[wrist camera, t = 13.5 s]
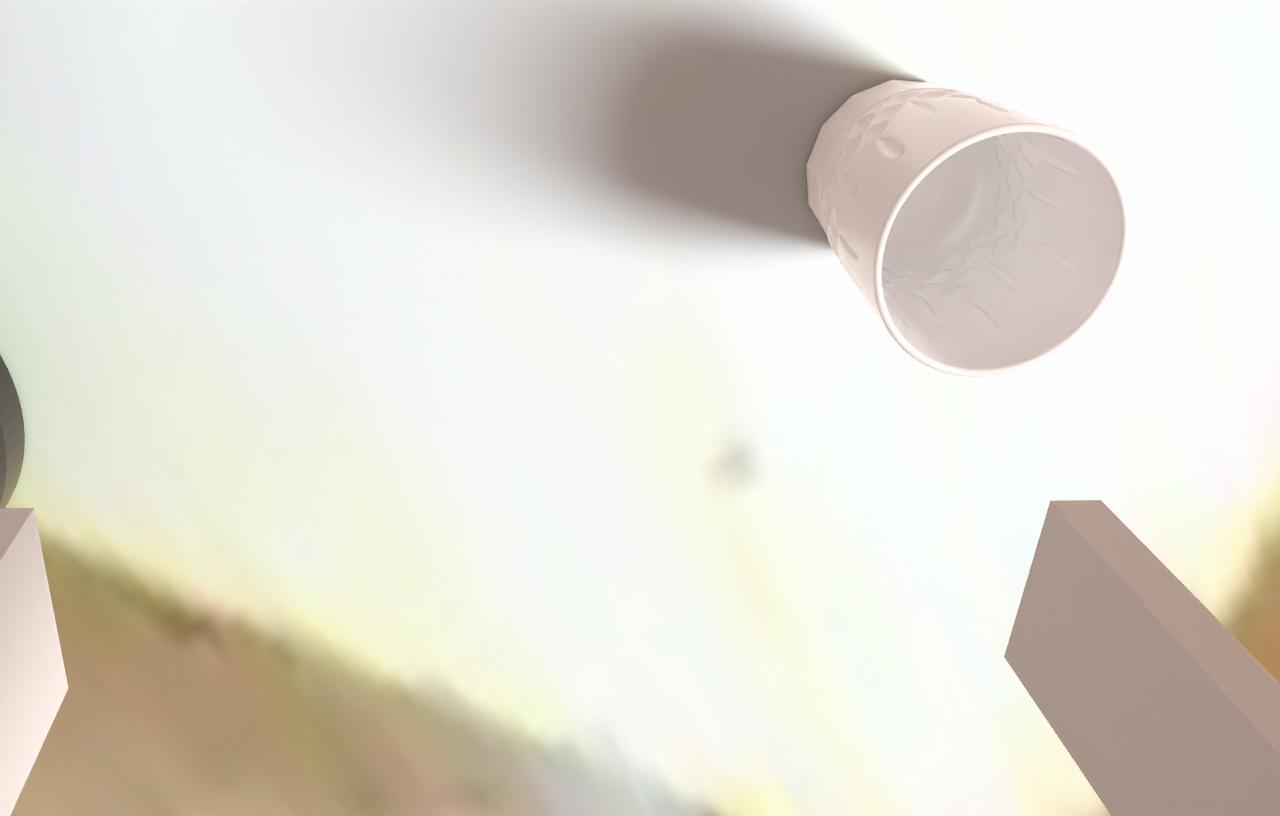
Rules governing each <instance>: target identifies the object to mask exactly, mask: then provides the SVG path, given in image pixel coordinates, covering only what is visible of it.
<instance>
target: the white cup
mask: <svg viewBox="0 0 1280 816" xmlns="http://www.w3.org/2000/svg"><path fill="white" fill-rule="evenodd" d="M806 168H807V186H808V204H809V206H810V208H811V210H812V211H813V213H814V215H815V216H816V218H817V220H818V222H819V223H820V225H821V227H822V228H823V230H824V232H825V233H826V235H827V237H828V240H829V243H830V245H831V247H832V249H833V250H834V252H835V253H836V255H837V256H838V258H839V260H840V262H841V264H842V265H843V267H844V268H845V270H846V271H847V273H848V274H849V276H850V277H851V278H852V280H853V281H854V283H855V284H856V286H857V287H858V288H859V290H860V291H861V293H862V294H863V295H864V297H865V298H866V300H867V301H868V303H869V304H870V305H871V307H872V308H873V310H874V311H875V312H876V314H877V315H878V317H879V318H880V320H881V321H882V323H883V324H884V325H885V327H886V328H887V330H888V331H889V333H890V334H891V336H892V337H893V338H894V340H895V341H896V342H897V343H898V344H899V345H900V346H901V347H902V348H903V349H904V350H905V351H906V352H907V353H908V354H909V355H911V356H912V357H913V358H915V359H916V360H918V361H919V362H921V363H923V364H925V365H927V366H929V367H931V368H933V369H936V370H938V371H941V372H945V373H948V374H953V375H959V376H968V377H984V376H994V375H1000V374H1005V373H1009V372H1013V371H1016V370H1019V369H1022V368H1025V367H1027V366H1030V365H1032V364H1034V363H1037V362H1039V361H1041V360H1043V359H1045V358H1046V357H1048V356H1050V355H1052V354H1053V353H1055V352H1056V351H1058V350H1059V349H1061V348H1062V347H1064V346H1065V345H1066V344H1068V343H1069V342H1070V341H1071V340H1072V339H1074V338H1075V337H1076V336H1077V335H1078V334H1079V333H1080V332H1081V331H1082V330H1083V329H1084V328H1085V327H1086V326H1087V325H1088V324H1089V323H1090V322H1091V321H1092V320H1093V318H1094V317H1095V316H1096V315H1097V314H1098V312H1099V311H1100V310H1101V308H1102V307H1103V305H1104V304H1105V302H1106V301H1107V299H1108V297H1109V296H1110V294H1111V292H1112V290H1113V289H1114V287H1115V285H1116V282H1117V280H1118V278H1119V276H1120V273H1121V271H1122V268H1123V265H1124V261H1125V258H1126V254H1127V249H1128V243H1129V235H1130V214H1129V206H1128V201H1127V197H1126V193H1125V190H1124V187H1123V184H1122V182H1121V180H1120V178H1119V176H1118V174H1117V172H1116V170H1115V169H1114V167H1113V165H1112V164H1111V163H1110V161H1109V160H1108V159H1107V158H1106V156H1105V155H1104V154H1103V153H1102V152H1101V151H1100V150H1099V149H1098V148H1097V147H1095V146H1094V145H1093V144H1092V143H1090V142H1089V141H1087V140H1086V139H1084V138H1083V137H1081V136H1079V135H1077V134H1075V133H1073V132H1071V131H1068V130H1066V129H1063V128H1060V127H1058V126H1055V125H1052V124H1049V123H1047V122H1044V121H1041V120H1039V119H1036V118H1033V117H1031V116H1028V115H1026V114H1023V113H1020V112H1018V111H1015V110H1013V109H1010V108H1008V107H1005V106H1002V105H1000V104H997V103H994V102H992V101H988V100H984V99H981V98H978V97H975V96H973V95H970V94H967V93H963V92H960V91H956V90H951V89H946V88H944V87H941V86H939V85H936V84H934V83H929V82H917V81H904V80H889V81H886V82H884V83H881V84H879V85H876V86H874V87H871V88H869V89H866V90H864V91H861V92H859V93H856V94H854V95H852V96H851V97H850V98H849V99H848V100H847V101H846V102H845V103H844V104H843V105H842V106H841V107H840V108H839V109H838V110H837V111H836V112H835V113H834V114H833V115H832V116H831V117H830V118H829V119H828V120H827V121H826V122H825V123H824V124H823V125H822V127H821V129H820V132H819V134H818V137H817V139H816V142H815V144H814V147H813V150H812V152H811V155H810V157H809V160H808V162H807V165H806Z"/></svg>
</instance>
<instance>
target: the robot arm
mask: <svg viewBox="0 0 1280 816" xmlns="http://www.w3.org/2000/svg"><path fill="white" fill-rule="evenodd" d="M24 437H25V435H24V422H23V416H22V410H21V406H20V402H19V398H18V394H17V392H16V389H15V386H14V383H13V380H12V378H11V376H10V373H9V371H8V369H7V367H6V365H5V363H4V361H3V359H2V357H1V356H0V816H10V815H11V812H12V810H13V808H14V806H15V804H16V801H17V799H18V797H19V795H20V793H21V790H22V788H23V786H24V784H25V782H26V780H27V777H28V775H29V773H30V771H31V769H32V766H33V764H34V762H35V760H36V758H37V756H38V753H39V751H40V749H41V747H42V745H43V742H44V740H45V738H46V736H47V734H48V731H49V729H50V727H51V725H52V723H53V721H54V718H55V716H56V714H57V712H58V710H59V707H60V705H61V703H62V701H63V699H64V696H65V694H66V692H67V690H68V684H67V679H66V674H65V668H64V663H63V658H62V653H61V648H60V643H59V637H58V632H57V627H56V622H55V617H54V611H53V606H52V601H51V596H50V591H49V586H48V580H47V575H46V570H45V565H44V560H43V554H42V549H41V544H40V539H39V534H38V529H37V523H36V518H35V513H34V508H5V507H6V505H7V503H8V501H9V500H10V498H11V496H12V494H13V491H14V489H15V487H16V485H17V481H18V478H19V475H20V472H21V467H22V462H23V455H24ZM1004 657H1005V658H1006V660H1007V661H1008V663H1009V664H1010V666H1011V667H1012V669H1013V670H1014V672H1015V673H1016V675H1017V676H1018V678H1019V679H1020V681H1021V682H1022V684H1023V685H1024V687H1025V688H1026V690H1027V691H1028V693H1029V694H1030V696H1031V697H1032V699H1033V700H1034V702H1035V703H1036V704H1037V706H1038V707H1039V709H1040V710H1041V712H1042V713H1043V715H1044V716H1045V718H1046V719H1047V721H1048V722H1049V724H1050V725H1051V727H1052V728H1053V730H1054V731H1055V733H1056V734H1057V736H1058V737H1059V739H1060V740H1061V742H1062V743H1063V745H1064V746H1065V748H1066V749H1067V750H1068V752H1069V753H1070V755H1071V756H1072V758H1073V759H1074V761H1075V762H1076V764H1077V765H1078V767H1079V768H1080V770H1081V771H1082V773H1083V774H1084V776H1085V777H1086V779H1087V780H1088V782H1089V783H1090V785H1091V786H1092V788H1093V789H1094V791H1095V792H1096V794H1097V795H1098V796H1099V798H1100V799H1101V801H1102V802H1103V804H1104V805H1105V807H1106V808H1107V810H1108V811H1109V813H1110V814H1111V816H1280V683H1279V682H1278V681H1277V680H1276V679H1275V678H1274V677H1273V676H1272V675H1271V674H1270V673H1269V672H1268V671H1267V669H1266V668H1265V667H1264V666H1263V665H1262V664H1261V663H1260V662H1259V661H1258V660H1257V659H1256V658H1255V657H1254V656H1253V655H1252V654H1251V653H1250V652H1249V651H1248V650H1247V649H1246V648H1245V647H1244V646H1243V645H1242V644H1241V643H1240V642H1239V641H1238V640H1237V639H1236V638H1235V637H1234V636H1233V635H1232V634H1231V633H1230V632H1229V631H1228V630H1227V629H1226V628H1225V627H1224V626H1223V625H1222V624H1221V623H1220V622H1219V621H1218V620H1217V619H1216V617H1215V616H1214V615H1213V614H1212V613H1211V612H1210V611H1209V610H1208V609H1207V608H1206V607H1205V606H1204V605H1203V604H1202V603H1201V602H1200V601H1199V600H1198V599H1197V598H1196V597H1195V596H1194V595H1193V594H1192V593H1191V592H1190V591H1189V590H1188V589H1187V588H1186V587H1185V586H1184V585H1183V584H1182V583H1181V582H1180V581H1179V580H1178V579H1177V578H1176V577H1175V576H1174V575H1173V574H1172V573H1171V572H1170V571H1169V570H1168V569H1167V568H1166V566H1165V565H1164V564H1163V563H1162V562H1161V561H1160V560H1159V559H1158V558H1157V557H1156V556H1155V555H1154V554H1153V553H1152V552H1151V551H1150V550H1149V549H1148V548H1147V547H1146V546H1145V545H1144V544H1143V543H1142V542H1141V541H1140V540H1139V539H1138V538H1137V537H1136V536H1135V535H1134V534H1133V533H1132V532H1131V531H1130V530H1129V529H1128V528H1127V527H1126V526H1125V525H1124V524H1123V523H1122V522H1121V521H1120V520H1119V519H1118V518H1117V517H1116V515H1115V514H1114V513H1113V512H1112V511H1111V510H1110V509H1109V508H1108V507H1107V506H1106V505H1105V504H1104V503H1103V502H1102V501H1101V500H1088V501H1050V504H1049V508H1048V511H1047V514H1046V518H1045V521H1044V525H1043V528H1042V531H1041V535H1040V538H1039V541H1038V545H1037V548H1036V551H1035V555H1034V558H1033V562H1032V565H1031V568H1030V572H1029V575H1028V578H1027V582H1026V585H1025V589H1024V592H1023V595H1022V599H1021V602H1020V605H1019V609H1018V612H1017V616H1016V619H1015V622H1014V626H1013V629H1012V632H1011V636H1010V639H1009V643H1008V646H1007V649H1006V653H1005V656H1004Z"/></svg>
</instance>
